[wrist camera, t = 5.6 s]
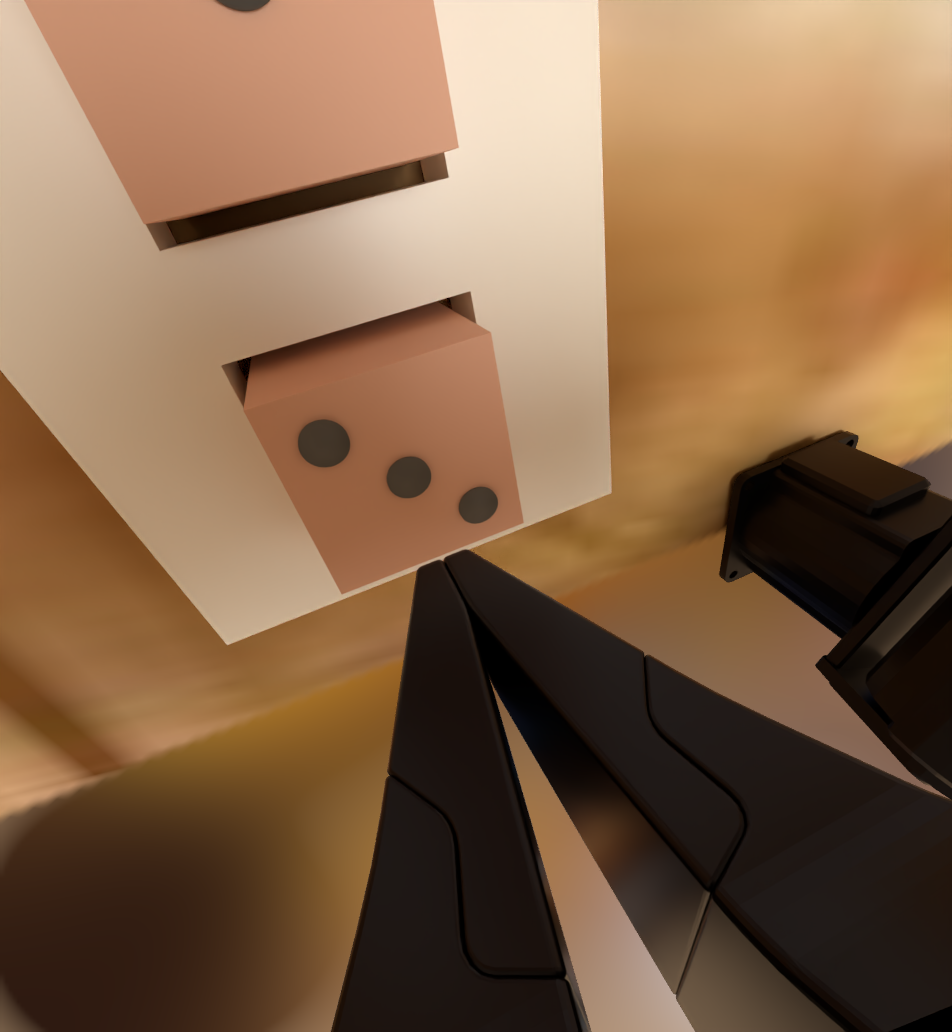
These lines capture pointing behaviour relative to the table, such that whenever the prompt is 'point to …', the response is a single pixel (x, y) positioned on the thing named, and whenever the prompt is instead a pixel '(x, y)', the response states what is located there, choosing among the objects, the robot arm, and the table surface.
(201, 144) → the tile one dot
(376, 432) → the tile three dots
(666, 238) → the table surface
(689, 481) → the table surface
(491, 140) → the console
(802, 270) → the table surface
